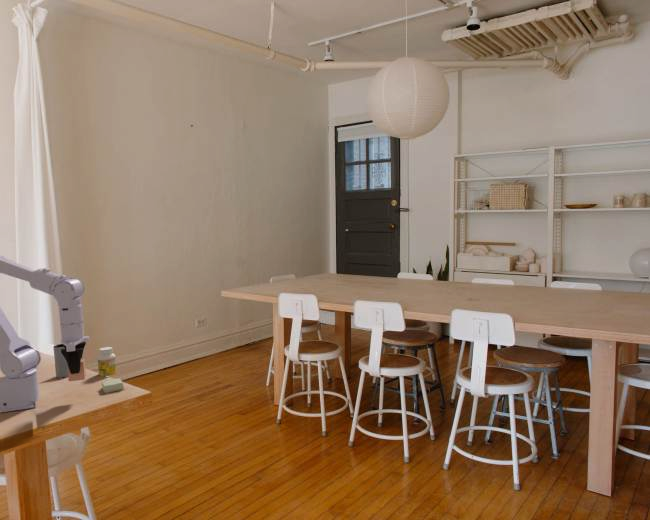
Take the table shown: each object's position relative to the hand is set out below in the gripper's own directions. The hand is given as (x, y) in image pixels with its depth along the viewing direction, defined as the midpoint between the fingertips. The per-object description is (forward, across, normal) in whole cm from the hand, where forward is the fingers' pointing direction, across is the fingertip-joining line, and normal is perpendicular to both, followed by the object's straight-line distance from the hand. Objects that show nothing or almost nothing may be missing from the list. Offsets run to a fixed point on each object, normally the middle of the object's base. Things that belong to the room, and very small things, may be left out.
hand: (76, 371), depth 148 cm
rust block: (+2, 0, 0) cm, 2 cm away
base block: (+10, +5, -9) cm, 14 cm away
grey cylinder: (+10, +32, +7) cm, 34 cm away
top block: (+8, +5, -9) cm, 13 cm away
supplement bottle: (+10, +23, -7) cm, 26 cm away
